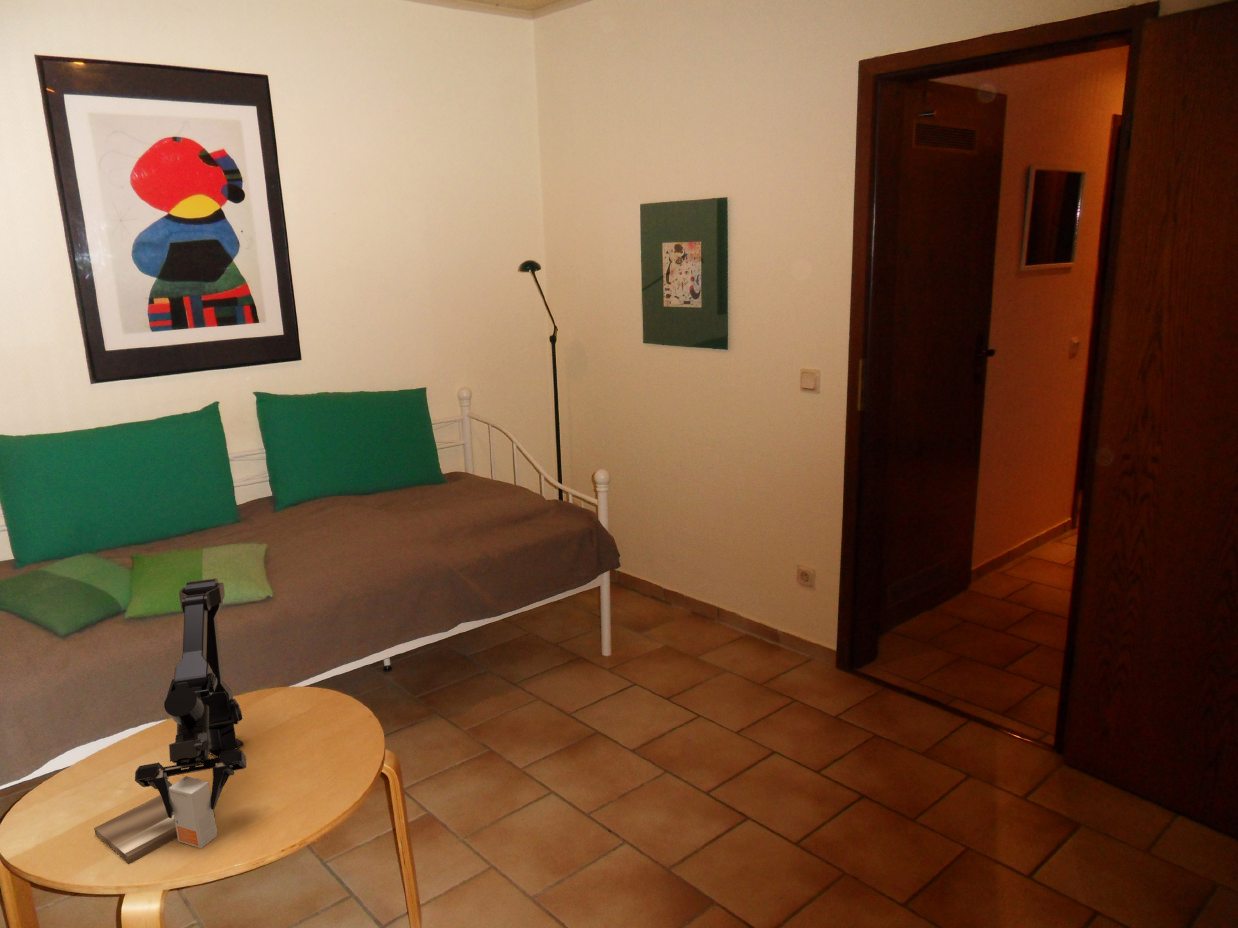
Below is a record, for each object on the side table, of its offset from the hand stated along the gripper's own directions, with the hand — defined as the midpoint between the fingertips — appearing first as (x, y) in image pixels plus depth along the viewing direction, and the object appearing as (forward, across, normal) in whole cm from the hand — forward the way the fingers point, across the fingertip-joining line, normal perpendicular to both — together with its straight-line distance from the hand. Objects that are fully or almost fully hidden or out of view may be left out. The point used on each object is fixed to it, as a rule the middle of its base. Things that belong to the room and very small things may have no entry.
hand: (191, 813), depth 162 cm
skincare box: (+4, 0, +6) cm, 7 cm away
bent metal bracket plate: (-2, -9, +11) cm, 14 cm away
